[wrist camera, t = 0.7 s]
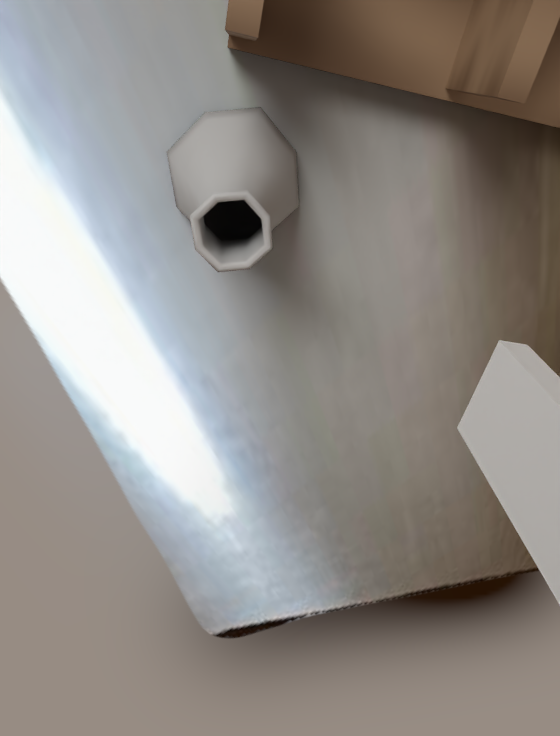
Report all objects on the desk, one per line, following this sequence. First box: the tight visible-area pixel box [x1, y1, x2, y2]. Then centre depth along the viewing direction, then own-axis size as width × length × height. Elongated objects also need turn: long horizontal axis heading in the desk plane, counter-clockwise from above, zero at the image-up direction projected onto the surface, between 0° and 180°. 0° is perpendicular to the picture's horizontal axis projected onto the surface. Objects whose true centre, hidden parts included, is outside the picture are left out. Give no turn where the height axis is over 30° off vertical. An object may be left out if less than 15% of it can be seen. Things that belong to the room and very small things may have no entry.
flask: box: [167, 107, 299, 272], centre depth 24 cm, size 7×7×10 cm
